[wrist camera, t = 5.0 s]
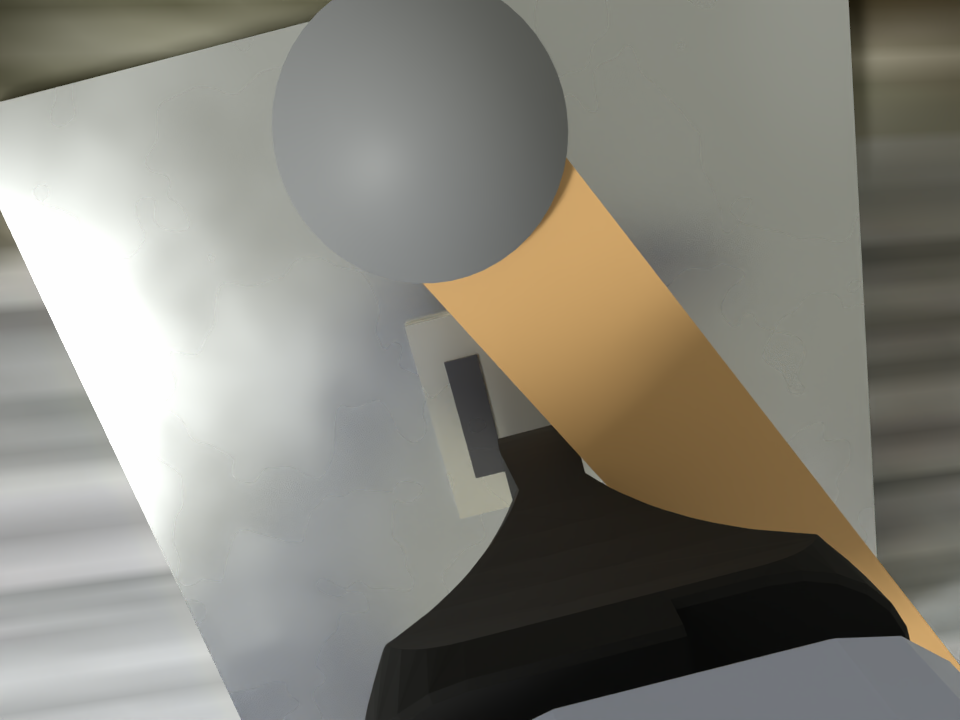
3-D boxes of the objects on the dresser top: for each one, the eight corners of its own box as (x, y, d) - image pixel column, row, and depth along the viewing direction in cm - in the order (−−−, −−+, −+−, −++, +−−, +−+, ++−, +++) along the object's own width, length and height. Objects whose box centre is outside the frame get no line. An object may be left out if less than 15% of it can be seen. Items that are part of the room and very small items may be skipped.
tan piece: (936, 621, 14) (1071, 756, 11) (807, 706, 15) (903, 855, 12) (434, -33, 10) (434, -103, 7) (275, 122, 10) (208, 122, 7)
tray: (871, 728, 17) (897, 764, 16) (322, 857, 17) (315, 900, 16) (820, -120, 11) (857, -143, 10) (-27, 101, 11) (-70, 99, 10)
